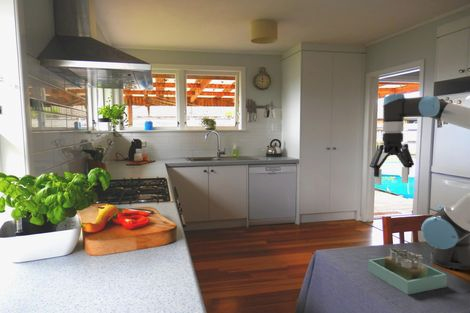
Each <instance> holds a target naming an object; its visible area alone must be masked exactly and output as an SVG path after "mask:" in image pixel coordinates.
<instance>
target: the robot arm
mask: <svg viewBox="0 0 470 313" xmlns="http://www.w3.org/2000/svg"><path fill="white" fill-rule="evenodd" d="M382 107H383V111H382V112H383V115H382V118H383V120H382V132H383V134H382V142H383V144H377V145H376V148H375V149H376V150H375V152H374V154H373V157H372V159H371V162H370V164H369V167H370V168H372V169H373V176H374V185H378V186H382V169H381V168H382V166H383V164H384V163H385V161H386V160H387V159H388V157H390V156H395V157H397V158H398V160H399V162H400V163H401V164H402V167H401V183H405V184H408V183H409V175H410V168H411V169H412V168H413V166H414V165H415V163H414V160H413V158H412V154H411V152H410V150H409V144H408V143H402V142H404V133H403V132H404V124H405V123H404V122H405V121H404V119H405V118H431V119H433V120H437V121H440V122H444V123H447V124H450V125H454V126H457V127H460V128H463V129H466V130H469V131H470V107H467V106H464V105H463V106H462V105H459V104H455V103H451V102H448V101H443V100H442V99H439V98H438V96H435V95H434V96H430V95H429V96H428V95H425V96H418V97H417V96H416V97H407V98H406V97H405V94H404V93H389V94H386V95H385V96H384V97H383V105H382ZM420 228H421V229H420V230H421V235H422V237H423V239H424V240H425V242H426V243H428V244H429V245H430V246H431V247H432V250H431V252H430V261H431V262H432V263H434V264H436V265H437V266H441V267H442V268H446V267H447V268H446V269H450V268H453V269H452V270H455V269H459V270H458V271H470V191H469V192H467V193H466V194H465V195H464V196H462V197H461V198H460V199H459V200H458V201H457V202H455V203H454V204H453V205H450V204H446V205H445V204H439V205H438V206H437V209H436V213H434V214H433V215H432V216H430V217H427V218H426V219H425V220H424V221H423V222H422V225H421V227H420Z"/></svg>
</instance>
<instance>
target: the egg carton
mask: <svg viewBox="0 0 470 313" xmlns="http://www.w3.org/2000/svg"><path fill="white" fill-rule="evenodd" d="M388 249H389V250H390V254H389V256H390V258H391V259H394V260H396V263H400V264H402V267H406V268H411V267H417V268H421V263H422V259H424V255H422V254H419V253H418V254H417V253H413V252H411V251H407V249H405V248H403V249H402V248H396V247H394V248H390V247H388ZM406 258H408V259H406Z"/></svg>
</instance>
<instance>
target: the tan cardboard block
mask: <svg viewBox="0 0 470 313" xmlns="http://www.w3.org/2000/svg"><path fill="white" fill-rule="evenodd" d="M406 259H408V258H406ZM385 268H386V269H388V270H389V271H391V272H393V273H395V274H397V275H398V276H400V277H402V278H404V279H406V280H407V281H408V280H414V279H419V278H424V277H427V270H428V267H425V266H423V265H421V268H417V267H411V268H406V267H402V264H400V263H396V260H394V259H391V258H390V255H389V256H385Z"/></svg>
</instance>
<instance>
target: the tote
mask: <svg viewBox="0 0 470 313" xmlns="http://www.w3.org/2000/svg"><path fill="white" fill-rule="evenodd" d="M385 257H386V256H385ZM385 257H379V258H372V259H371V258H370V259H368V260H367V272H368V273H371V274H372V275H374V276H375V277H377V278H379V279H381V280H382V281H384V282H386V283H387V284H389V285H390V286H392V287H394V288H395V289H398V290H399V291H400V292H402V293H404V294H406V295H408V296H409V295H413V294H417V293H424V292H427V291H433V290H436V289H437V290H438V289H443V288H447V287H448V286H447V284H448V283H447V281H448V280H447V279H448V274H447V273H444V272H442V271H440V270H438V269H436V268H433V267H431V266H429V265H427V264H424V263H421V265H423V266H425V267H428V270H427V277H424V278H419V279H414V280H408V281H407V280H406V279H404V278H402V277H400V276H398V275H397V274H395V273H393V272H391V271H389V270H388V269H386V268H385Z"/></svg>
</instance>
